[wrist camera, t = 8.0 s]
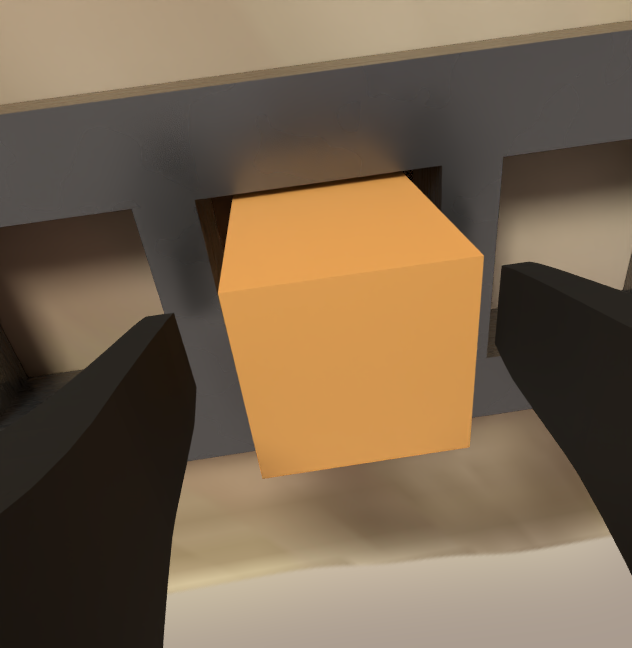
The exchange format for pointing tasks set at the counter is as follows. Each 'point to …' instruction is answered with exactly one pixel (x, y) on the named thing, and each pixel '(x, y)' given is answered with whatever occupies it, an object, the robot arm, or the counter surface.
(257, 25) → the counter surface
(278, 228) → the square block
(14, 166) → the gray board with holes
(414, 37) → the counter surface
